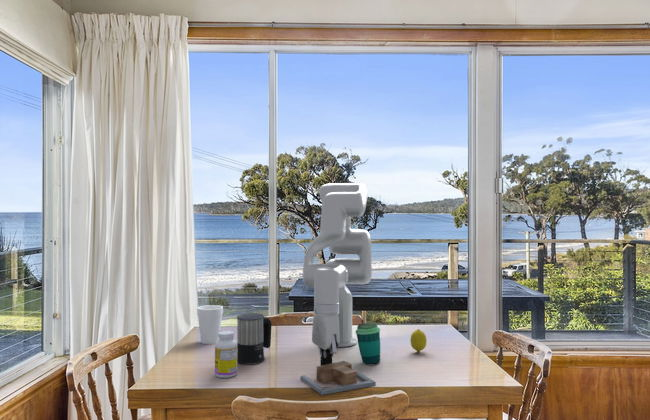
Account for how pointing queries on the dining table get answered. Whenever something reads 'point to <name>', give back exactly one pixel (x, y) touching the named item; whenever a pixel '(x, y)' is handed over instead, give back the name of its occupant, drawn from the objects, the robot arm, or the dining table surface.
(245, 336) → the milk frother
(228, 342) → the supplement bottle
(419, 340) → the lemon
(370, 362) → the cup
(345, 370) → the t block
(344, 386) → the grey u-shaped bar
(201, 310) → the foam cup
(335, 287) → the robot arm
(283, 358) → the dining table surface
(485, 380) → the dining table surface
